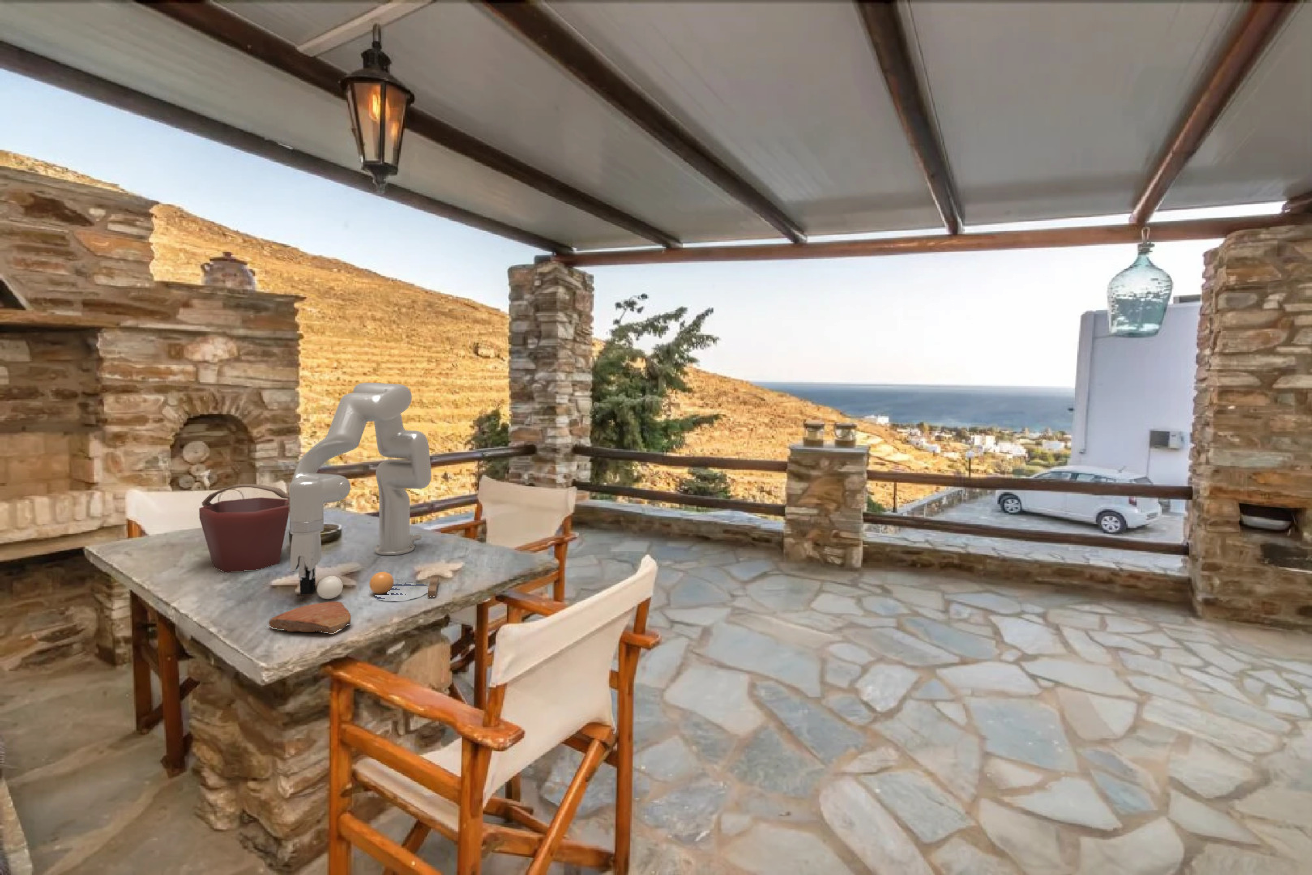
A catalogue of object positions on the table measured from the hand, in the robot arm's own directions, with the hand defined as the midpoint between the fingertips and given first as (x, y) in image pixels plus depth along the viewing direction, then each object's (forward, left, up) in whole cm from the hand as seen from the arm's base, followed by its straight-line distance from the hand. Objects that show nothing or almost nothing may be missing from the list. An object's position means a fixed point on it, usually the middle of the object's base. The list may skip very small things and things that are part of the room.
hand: (307, 592), depth 145 cm
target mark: (-16, +16, -2) cm, 23 cm away
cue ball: (-3, +5, +2) cm, 6 cm away
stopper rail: (-22, +22, -2) cm, 31 cm away
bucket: (-6, -41, -2) cm, 42 cm away
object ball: (-13, +13, +2) cm, 18 cm away
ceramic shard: (+9, +18, -2) cm, 21 cm away
